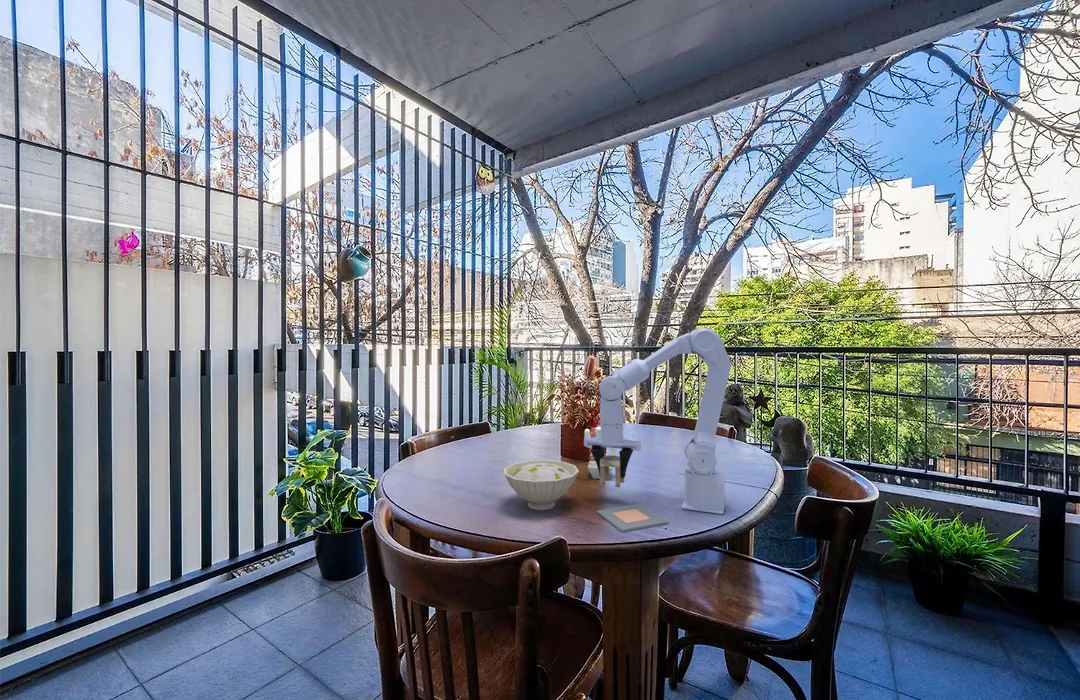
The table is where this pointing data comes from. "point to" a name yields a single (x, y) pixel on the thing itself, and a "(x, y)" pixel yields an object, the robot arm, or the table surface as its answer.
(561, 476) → the bowl
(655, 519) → the mat
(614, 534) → the table surface
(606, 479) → the stool
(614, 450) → the figurine
